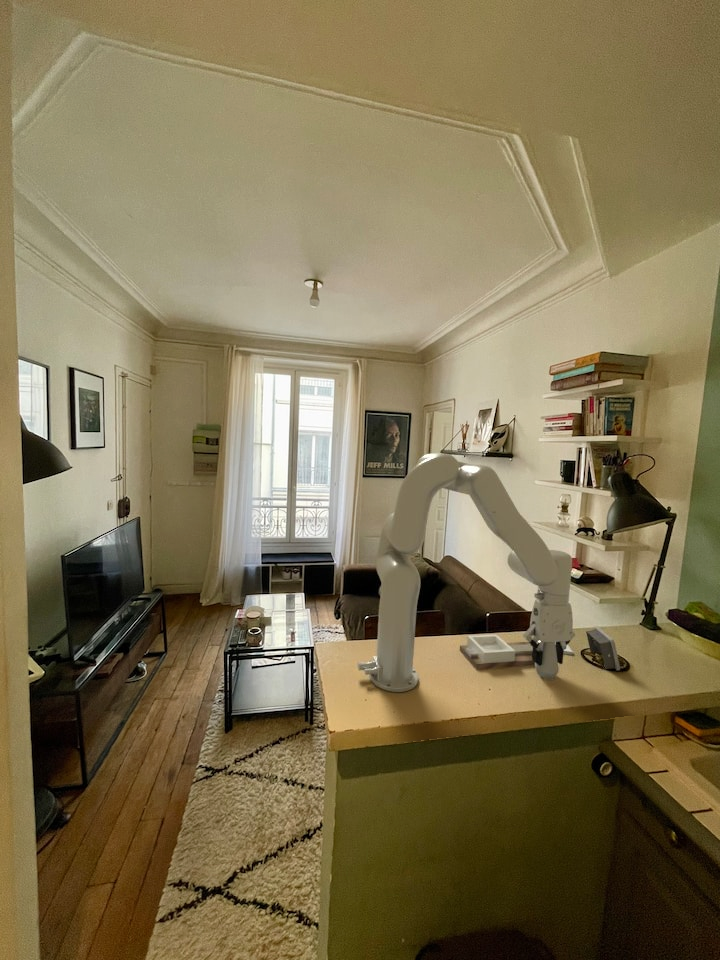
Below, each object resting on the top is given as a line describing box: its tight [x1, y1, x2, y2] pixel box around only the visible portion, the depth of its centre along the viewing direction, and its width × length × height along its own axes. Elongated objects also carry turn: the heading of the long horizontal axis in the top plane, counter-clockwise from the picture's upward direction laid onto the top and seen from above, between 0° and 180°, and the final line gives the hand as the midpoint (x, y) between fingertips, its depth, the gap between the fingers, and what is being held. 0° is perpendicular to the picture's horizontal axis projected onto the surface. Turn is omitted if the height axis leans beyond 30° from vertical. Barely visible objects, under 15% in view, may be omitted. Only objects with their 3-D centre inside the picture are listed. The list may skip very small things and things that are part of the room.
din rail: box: [465, 644, 533, 658], centre depth 110 cm, size 24×4×1 cm, turn 101°
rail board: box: [459, 641, 535, 670], centre depth 110 cm, size 24×10×2 cm, turn 101°
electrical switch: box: [585, 625, 621, 672], centre depth 109 cm, size 9×5×9 cm, turn 174°
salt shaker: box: [534, 642, 560, 681], centre depth 101 cm, size 6×6×13 cm
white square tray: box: [466, 634, 515, 663], centre depth 109 cm, size 10×10×3 cm
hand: (547, 661), depth 101 cm, fingers open, 5 cm apart
